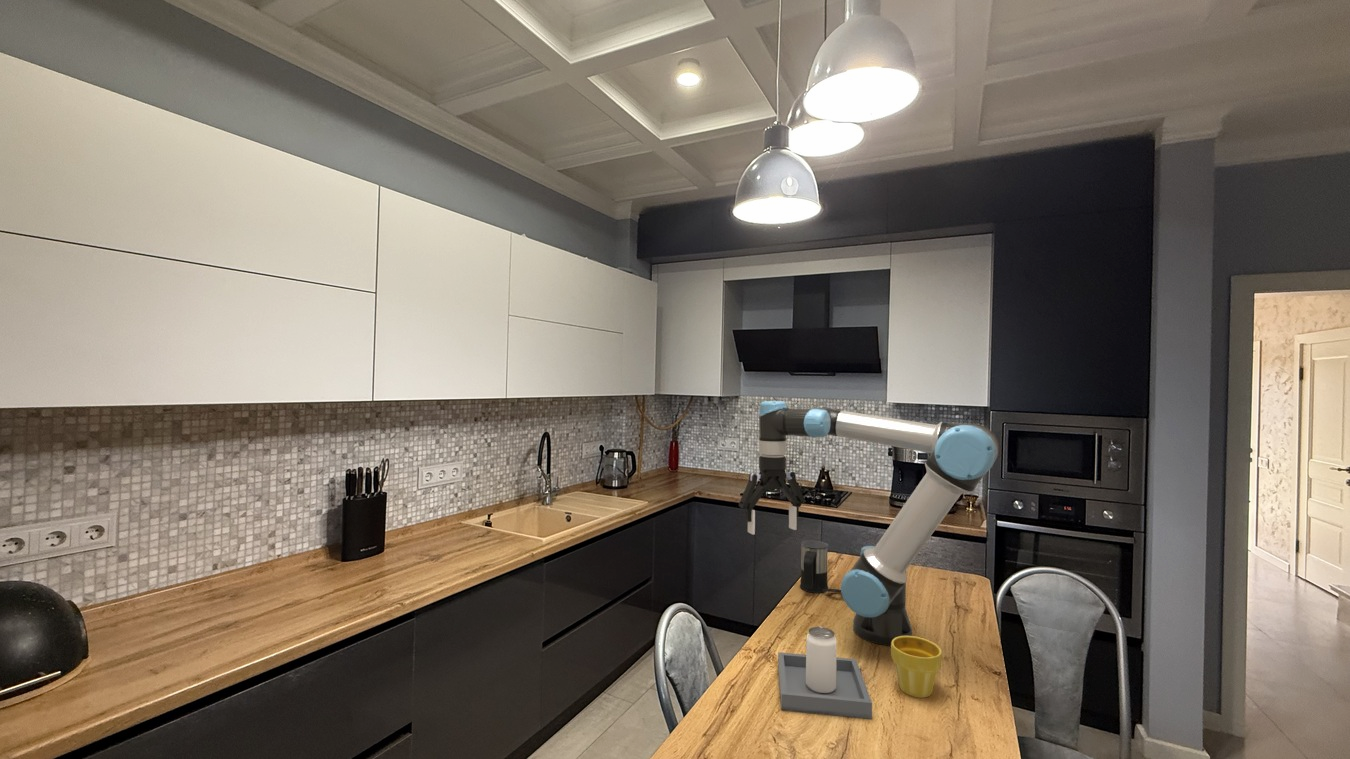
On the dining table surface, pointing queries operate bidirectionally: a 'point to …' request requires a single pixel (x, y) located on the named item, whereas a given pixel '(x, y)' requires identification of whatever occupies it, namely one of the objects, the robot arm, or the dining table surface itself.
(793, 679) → the tray
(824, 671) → the can
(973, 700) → the dining table surface
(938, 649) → the plant pot
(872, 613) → the robot arm
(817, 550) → the milk frother
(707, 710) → the dining table surface
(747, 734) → the dining table surface
